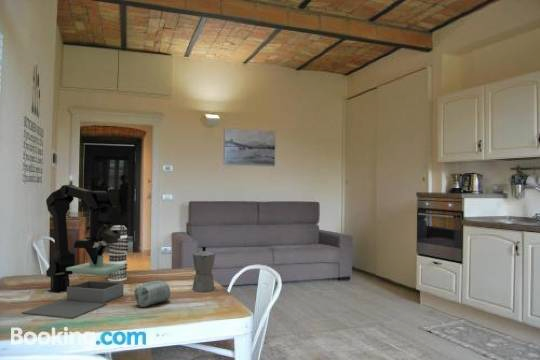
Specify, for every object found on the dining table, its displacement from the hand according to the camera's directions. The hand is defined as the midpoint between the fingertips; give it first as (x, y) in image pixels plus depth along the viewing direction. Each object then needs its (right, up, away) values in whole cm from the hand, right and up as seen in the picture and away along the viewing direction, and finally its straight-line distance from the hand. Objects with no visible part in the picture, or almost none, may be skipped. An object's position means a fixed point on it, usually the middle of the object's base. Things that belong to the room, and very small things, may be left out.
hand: (96, 264), depth 157 cm
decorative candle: (-5, -14, +34) cm, 37 cm away
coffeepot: (+38, -14, +16) cm, 44 cm away
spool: (+24, -13, -8) cm, 28 cm away
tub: (0, -13, 0) cm, 13 cm away
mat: (-4, -12, -15) cm, 20 cm away
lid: (0, -3, 0) cm, 3 cm away
